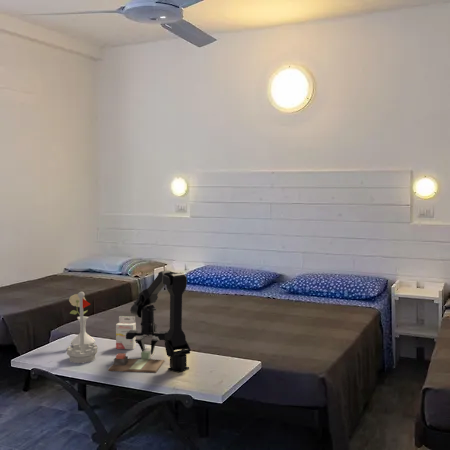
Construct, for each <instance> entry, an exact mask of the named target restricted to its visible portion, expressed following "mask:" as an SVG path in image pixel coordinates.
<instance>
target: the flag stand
mask: <svg viewBox="0 0 450 450" xmlns="http://www.w3.org/2000/svg"><path fill="white" fill-rule="evenodd" d="M77 294H78V297H79V298H80V307H79V314H80V315H79V317H80V322H79V325H80V326H79V329H80V330H79V331H80V332H79V333H80V346H79V344H75V345H73V346H72V345H71V346H70V345H68V346H67V347H66V355H67V356H68V357H69V358H68V359H69V362H71V363H75V364H83V363H90V362H92V361H94V360H96V354H97V353H98V346H97V344H95V343H94V344H93V345H91V346H90V343H84V317H83V316H84V314H83V312H84V309H85V308H86V307H88V306H90V305H91V303H90V302H88V301H87V299H86V300H84V299H83V297H85V295H86V294H85V292H84V291H79V292H78V293H77Z"/></svg>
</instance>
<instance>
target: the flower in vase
mask: <svg viewBox="0 0 450 450" xmlns="http://www.w3.org/2000/svg"><path fill="white" fill-rule="evenodd" d="M83 299H84V300H86V301H87V299H86V297H85V296H84V297H83ZM68 301H69V303H70V305H71V306H73V307H76V308H80V298H79V297H78V293H75V294H73V295H70V297H69V299H68ZM88 310H89V309H87V310H85V311H84V310H83V317H84V343H90V346H92V345H93V344H95V343H96V340H95V339H94V338H93V337H92V336H91V335H89V333H87V332H86V331H87V330H86V323H87V320H88V319H89V316H84V315H85V314H86V313H88ZM69 314H71V315H77V314H78V315H79V316H77V320H78V321H79V323H80V311H79V310H78V309H76V310H75V309H73V310H71V311H70V312H69ZM75 344H79V346H80V332H79V333H78V335H76V336H75V337H74V338H72V341H70V345H71V347H73V345H75Z"/></svg>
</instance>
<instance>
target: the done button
mask: <svg viewBox="0 0 450 450" xmlns="http://www.w3.org/2000/svg"><path fill="white" fill-rule="evenodd" d="M126 354H127V353H121V352H117V354H116V355H115V358H116V359H125V358H126V356H127V355H126Z"/></svg>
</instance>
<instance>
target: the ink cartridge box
mask: <svg viewBox="0 0 450 450" xmlns="http://www.w3.org/2000/svg"><path fill="white" fill-rule="evenodd" d="M136 326H137V323H136V316H134V315H132V316H130V315H129V316H128V315H127V316H126V315H119V316H118V323H116V324H115V349H117V350H134V349H135V348H136V347H137V341H135V339H136V337H134V338H133V339H126V333H127V332H128V331H130V330H137V327H136Z"/></svg>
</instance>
